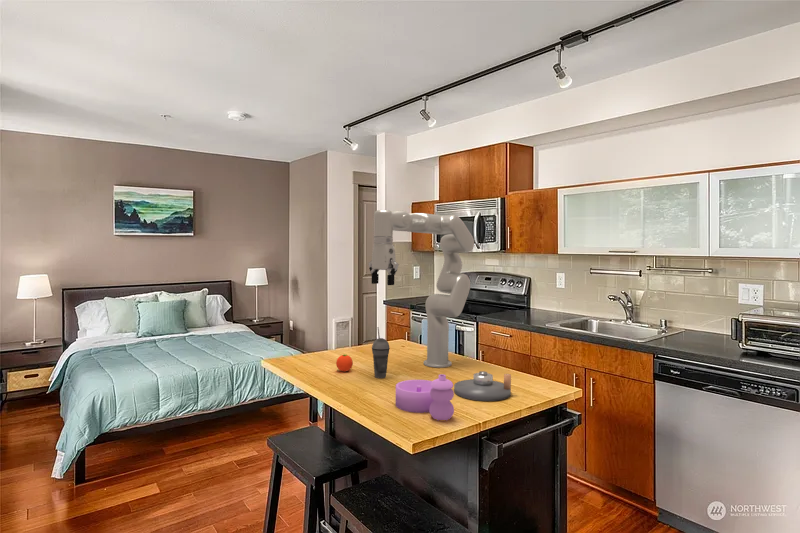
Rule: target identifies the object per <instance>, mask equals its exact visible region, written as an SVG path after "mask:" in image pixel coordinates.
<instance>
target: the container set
mask: <svg viewBox="0 0 800 533" xmlns="http://www.w3.org/2000/svg"><path fill="white" fill-rule="evenodd" d="M453 388H454V384H453V381H451V380H450V379H448V378H446V374H438V378H436V379H434V380H427V379H406V380H403V381H398V382H397V383H396V384H395V407H396V408H397V409H399V410H401V411H404V412H408V413H416V414H417V413H419V414H420V413H421V414H422V413H424V412H425V413H429V414H430V416H431V417H432V418H433V419H434V420H435V419H437V420H436V421H439V420H446V421H448V419H449V420H450V419H451V418H452V417H453V415H454V413H455V409H454V405H453V403H452V402H451V400H452V399H453V398H454V395H455V392H454V389H453ZM425 413H424V414H425Z"/></svg>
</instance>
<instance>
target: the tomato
mask: <svg viewBox="0 0 800 533" xmlns="http://www.w3.org/2000/svg"><path fill="white" fill-rule="evenodd" d="M335 364H336V368H337V369H338V371H340V372H343V373H344V372H348V371H350V370H351V369H352V368H353V366H354V365H353V364H354V363H353V358H352V357H351V356H350V355H348V354H342V355H340V356H338V358H337V359H336V361H335Z"/></svg>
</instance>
